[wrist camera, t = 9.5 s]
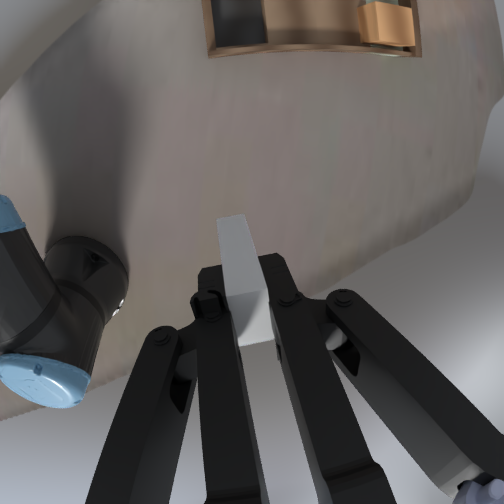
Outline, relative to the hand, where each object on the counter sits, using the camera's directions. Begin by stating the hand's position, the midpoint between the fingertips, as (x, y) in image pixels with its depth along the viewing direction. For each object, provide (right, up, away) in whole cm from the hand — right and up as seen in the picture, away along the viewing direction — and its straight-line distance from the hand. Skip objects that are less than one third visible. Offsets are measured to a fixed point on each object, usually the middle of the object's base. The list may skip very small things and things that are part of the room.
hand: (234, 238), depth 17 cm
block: (+17, +27, +12) cm, 34 cm away
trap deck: (+8, +29, +12) cm, 33 cm away
